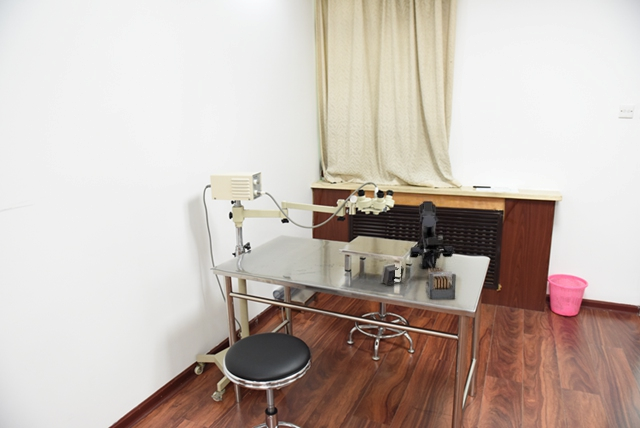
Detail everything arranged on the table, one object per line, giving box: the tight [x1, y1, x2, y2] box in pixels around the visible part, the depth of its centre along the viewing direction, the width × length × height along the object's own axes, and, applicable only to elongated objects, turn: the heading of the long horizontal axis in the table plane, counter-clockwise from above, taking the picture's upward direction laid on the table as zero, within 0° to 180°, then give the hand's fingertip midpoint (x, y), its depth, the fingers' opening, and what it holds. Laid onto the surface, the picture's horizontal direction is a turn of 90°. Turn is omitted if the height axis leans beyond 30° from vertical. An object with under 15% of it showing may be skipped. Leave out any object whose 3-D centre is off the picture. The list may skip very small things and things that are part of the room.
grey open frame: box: [425, 271, 457, 300], centre depth 165 cm, size 9×10×10 cm
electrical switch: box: [380, 262, 405, 286], centre depth 180 cm, size 9×5×9 cm, turn 113°
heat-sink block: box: [427, 267, 450, 289], centre depth 170 cm, size 14×6×8 cm, turn 176°
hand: (433, 269), depth 178 cm, fingers closed
